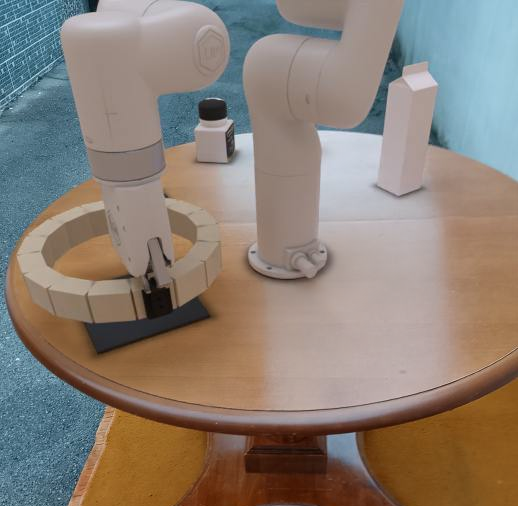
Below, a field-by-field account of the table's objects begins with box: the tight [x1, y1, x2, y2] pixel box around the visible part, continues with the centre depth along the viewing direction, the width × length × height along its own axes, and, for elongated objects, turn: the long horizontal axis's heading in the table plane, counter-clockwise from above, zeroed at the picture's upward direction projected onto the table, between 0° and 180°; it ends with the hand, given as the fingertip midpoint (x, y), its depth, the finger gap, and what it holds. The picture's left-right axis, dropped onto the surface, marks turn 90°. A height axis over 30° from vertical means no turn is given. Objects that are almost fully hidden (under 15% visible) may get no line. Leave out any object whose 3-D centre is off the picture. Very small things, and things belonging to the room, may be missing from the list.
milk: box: [376, 61, 439, 197], centre depth 98 cm, size 6×6×22 cm
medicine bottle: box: [193, 97, 236, 164], centre depth 116 cm, size 7×7×12 cm
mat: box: [83, 263, 211, 355], centre depth 78 cm, size 16×16×1 cm
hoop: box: [16, 197, 223, 323], centre depth 72 cm, size 26×26×4 cm
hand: (154, 306), depth 65 cm, fingers closed on hoop, 3 cm apart
